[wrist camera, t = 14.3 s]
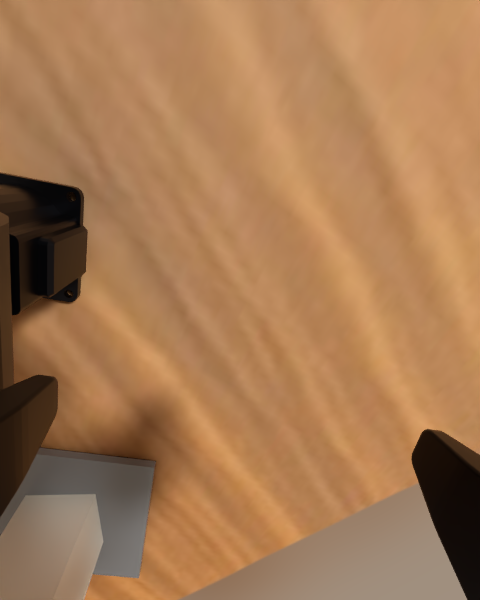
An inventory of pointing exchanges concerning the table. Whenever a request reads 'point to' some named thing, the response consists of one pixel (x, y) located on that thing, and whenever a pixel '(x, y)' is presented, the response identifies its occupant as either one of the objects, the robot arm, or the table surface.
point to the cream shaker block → (50, 548)
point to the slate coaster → (98, 500)
